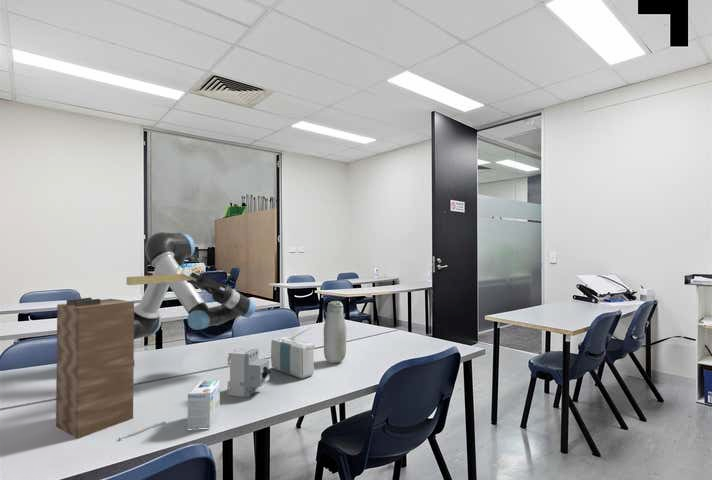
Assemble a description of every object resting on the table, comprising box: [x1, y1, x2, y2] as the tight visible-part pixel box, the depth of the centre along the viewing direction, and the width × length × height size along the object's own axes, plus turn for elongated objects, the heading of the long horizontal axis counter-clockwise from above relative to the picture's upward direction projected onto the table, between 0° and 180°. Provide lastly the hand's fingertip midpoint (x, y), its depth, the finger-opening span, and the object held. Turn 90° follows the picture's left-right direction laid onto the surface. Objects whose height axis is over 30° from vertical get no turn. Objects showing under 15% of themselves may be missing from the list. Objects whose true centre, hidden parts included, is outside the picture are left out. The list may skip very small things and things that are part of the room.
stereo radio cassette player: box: [270, 326, 316, 380], centre depth 162 cm, size 21×8×20 cm, turn 47°
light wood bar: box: [125, 272, 202, 286], centre depth 136 cm, size 3×26×2 cm, turn 148°
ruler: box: [118, 420, 166, 441], centre depth 111 cm, size 12×1×1 cm, turn 145°
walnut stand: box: [55, 297, 135, 439], centre depth 117 cm, size 14×15×38 cm
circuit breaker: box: [227, 347, 272, 398], centre depth 140 cm, size 8×14×15 cm, turn 78°
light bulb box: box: [187, 380, 221, 429], centre depth 116 cm, size 11×7×11 cm, turn 5°
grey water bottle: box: [323, 300, 347, 364], centre depth 176 cm, size 10×10×28 cm
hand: (180, 269), depth 141 cm, fingers closed on light wood bar, 3 cm apart
